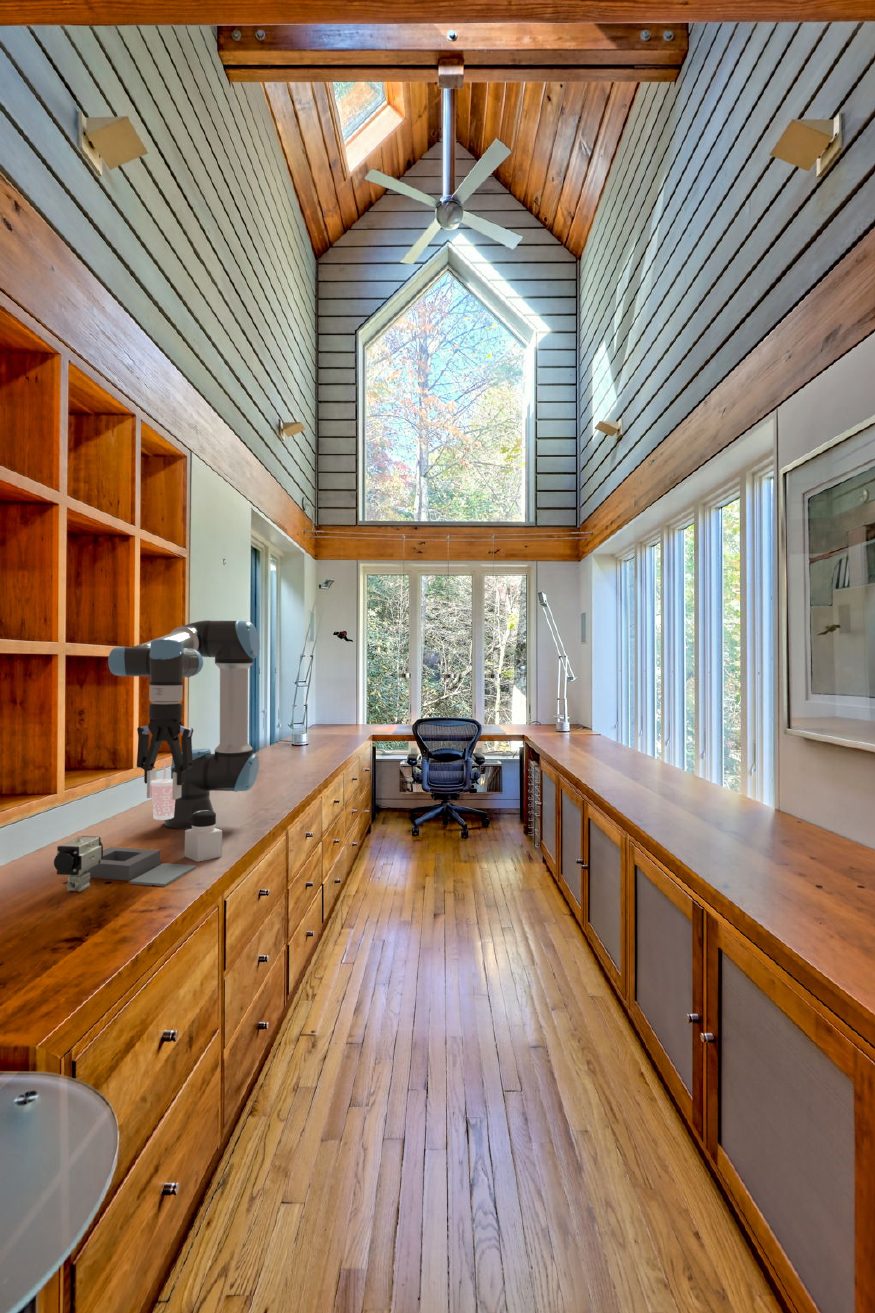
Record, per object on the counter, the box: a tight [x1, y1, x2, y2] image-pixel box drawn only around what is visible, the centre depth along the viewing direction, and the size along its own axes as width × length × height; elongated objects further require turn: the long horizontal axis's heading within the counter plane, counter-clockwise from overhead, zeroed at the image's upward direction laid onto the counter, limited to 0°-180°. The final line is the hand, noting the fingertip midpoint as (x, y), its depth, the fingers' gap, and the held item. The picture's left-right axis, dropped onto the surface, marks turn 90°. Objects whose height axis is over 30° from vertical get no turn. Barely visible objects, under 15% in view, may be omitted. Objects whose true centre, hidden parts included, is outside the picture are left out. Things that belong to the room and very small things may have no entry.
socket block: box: [82, 846, 161, 881], centre depth 165 cm, size 13×14×4 cm
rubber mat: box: [129, 862, 197, 887], centre depth 162 cm, size 14×9×1 cm, turn 171°
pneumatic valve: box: [53, 835, 104, 893], centre depth 152 cm, size 6×12×12 cm, turn 176°
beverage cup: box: [151, 759, 175, 821], centre depth 162 cm, size 6×6×14 cm
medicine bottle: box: [184, 810, 223, 863], centre depth 177 cm, size 7×7×12 cm
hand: (164, 797), depth 162 cm, fingers closed on beverage cup, 6 cm apart
